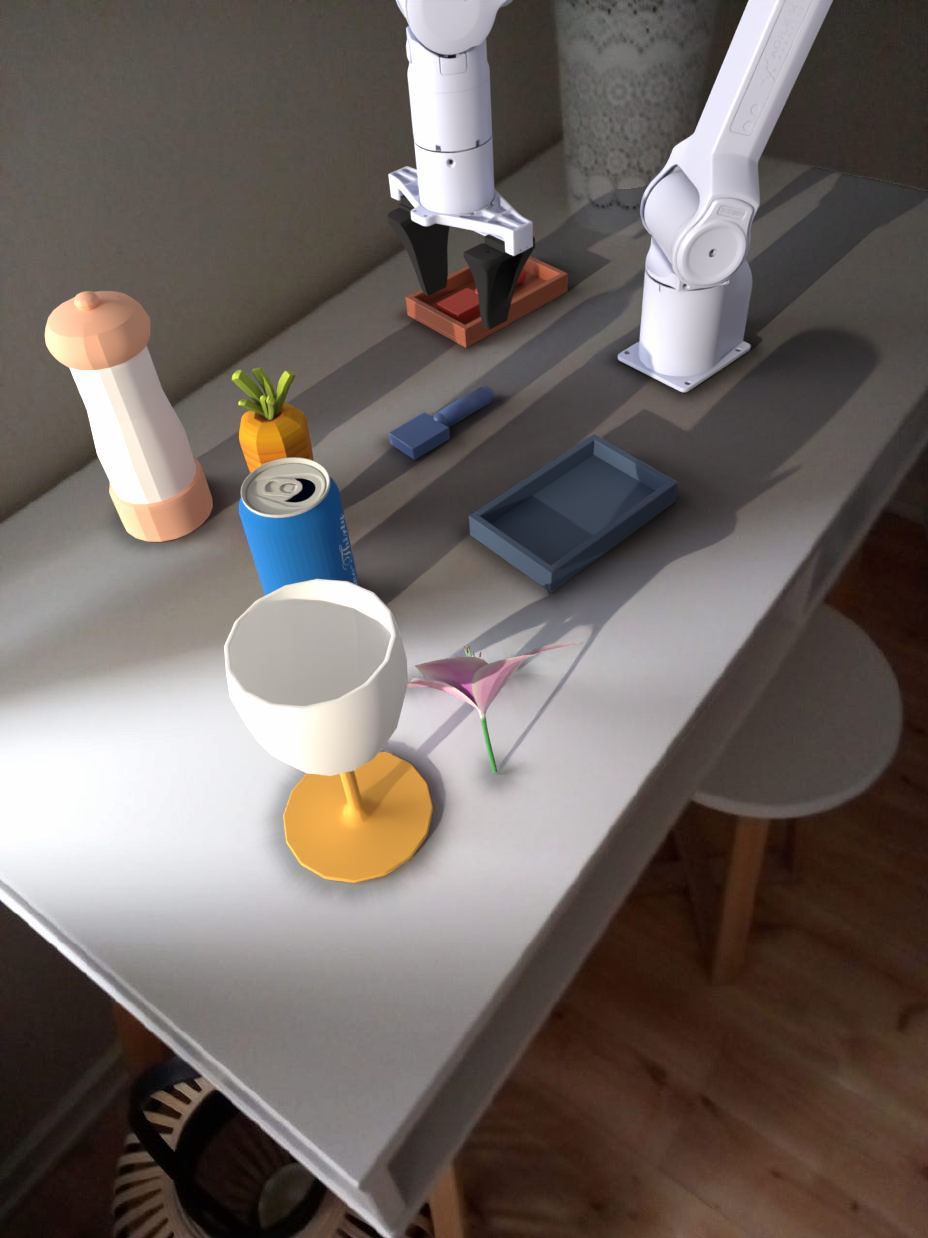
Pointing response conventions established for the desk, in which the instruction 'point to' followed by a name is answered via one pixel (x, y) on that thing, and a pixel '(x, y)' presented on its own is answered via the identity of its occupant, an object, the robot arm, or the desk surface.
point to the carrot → (271, 421)
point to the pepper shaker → (130, 415)
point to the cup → (332, 723)
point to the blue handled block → (437, 424)
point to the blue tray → (572, 511)
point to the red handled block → (466, 303)
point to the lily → (474, 680)
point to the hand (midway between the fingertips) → (464, 306)
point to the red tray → (527, 297)
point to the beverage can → (295, 524)
